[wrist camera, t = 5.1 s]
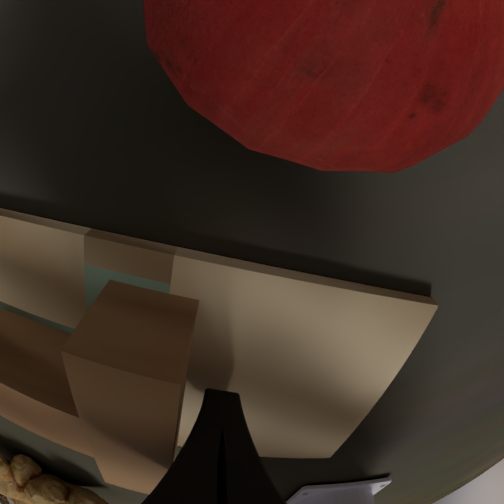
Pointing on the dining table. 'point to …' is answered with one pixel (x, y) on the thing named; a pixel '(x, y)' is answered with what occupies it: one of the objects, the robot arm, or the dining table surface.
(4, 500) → the dark brown lumpy piece
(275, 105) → the onion
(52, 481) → the ginger root
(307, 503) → the robot arm
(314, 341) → the board
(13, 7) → the dining table surface
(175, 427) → the t block
